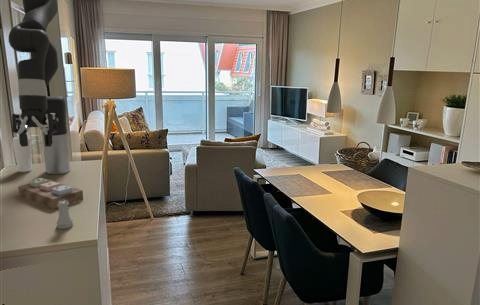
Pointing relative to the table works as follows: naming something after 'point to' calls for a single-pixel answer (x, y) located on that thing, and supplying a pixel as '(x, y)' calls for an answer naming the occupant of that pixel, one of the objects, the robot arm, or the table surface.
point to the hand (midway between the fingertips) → (36, 146)
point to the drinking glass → (23, 155)
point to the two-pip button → (61, 190)
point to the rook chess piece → (64, 215)
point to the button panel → (49, 195)
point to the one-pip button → (49, 186)
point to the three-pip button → (37, 182)
